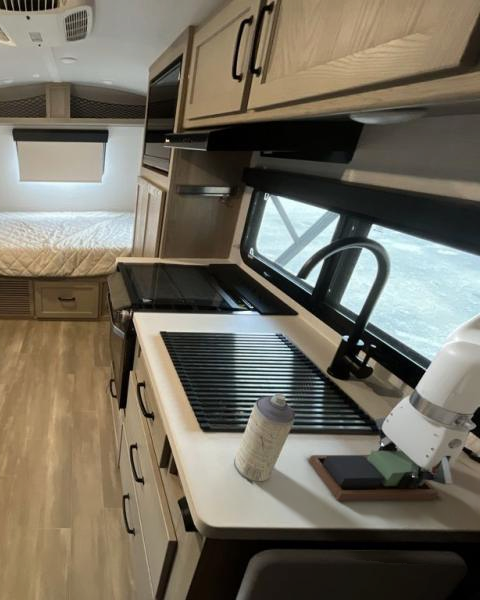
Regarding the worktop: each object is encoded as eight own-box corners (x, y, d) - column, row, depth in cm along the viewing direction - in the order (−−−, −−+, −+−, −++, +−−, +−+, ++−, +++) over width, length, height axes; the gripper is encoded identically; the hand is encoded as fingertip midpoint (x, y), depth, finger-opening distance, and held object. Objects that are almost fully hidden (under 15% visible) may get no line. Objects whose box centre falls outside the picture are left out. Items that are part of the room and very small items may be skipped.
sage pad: (363, 463, 70) (371, 450, 68) (399, 463, 70) (408, 450, 68) (383, 486, 65) (393, 472, 64) (422, 485, 66) (432, 472, 64)
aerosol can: (275, 484, 67) (309, 411, 58) (241, 482, 67) (270, 408, 58) (260, 455, 73) (289, 384, 64) (229, 453, 73) (253, 382, 64)
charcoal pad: (319, 468, 70) (326, 455, 68) (356, 468, 70) (363, 455, 69) (337, 491, 66) (344, 478, 64) (375, 491, 66) (384, 477, 64)
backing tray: (307, 463, 72) (311, 455, 71) (393, 462, 73) (399, 454, 72) (336, 502, 64) (341, 494, 63) (432, 501, 65) (439, 492, 64)
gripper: (515, 446, 52) (453, 516, 60) (414, 375, 67) (375, 439, 75) (470, 446, 52) (414, 516, 60) (378, 375, 67) (343, 439, 75)
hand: (393, 472), depth 68 cm, fingers closed on sage pad, 4 cm apart
